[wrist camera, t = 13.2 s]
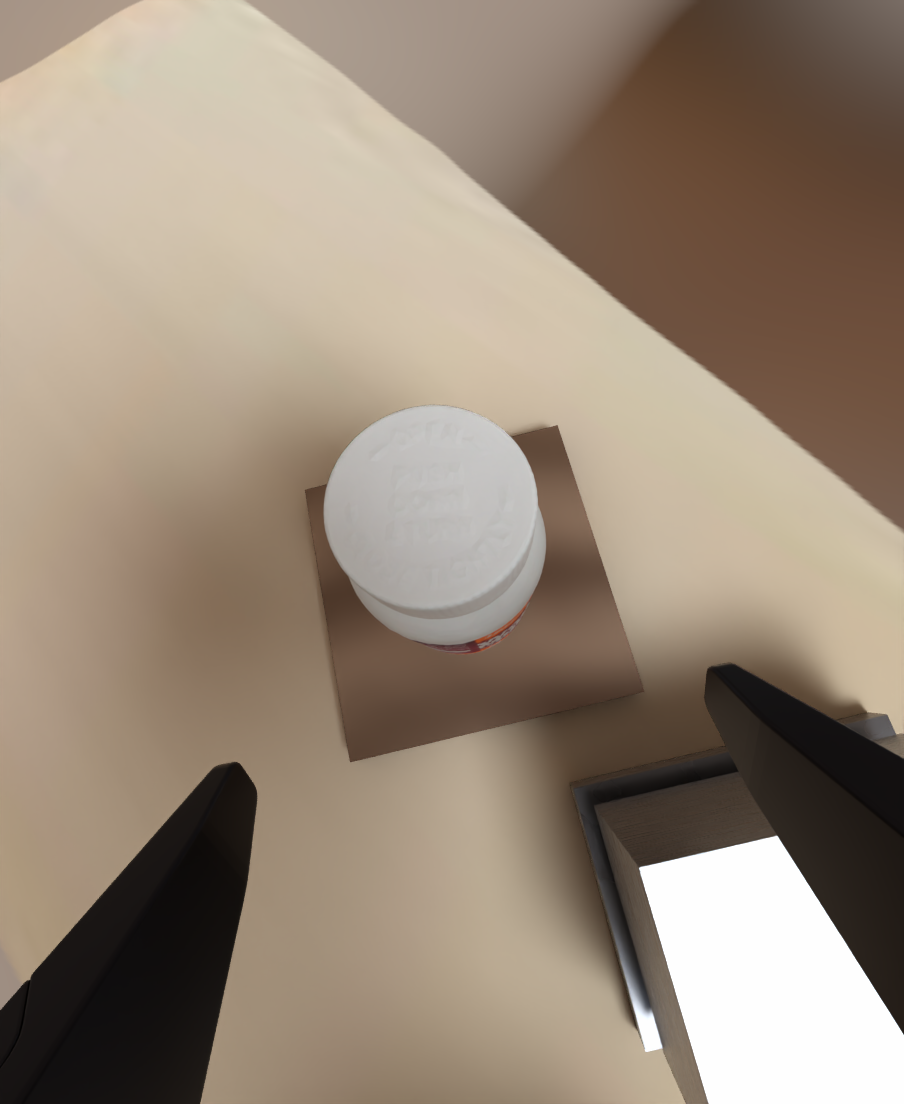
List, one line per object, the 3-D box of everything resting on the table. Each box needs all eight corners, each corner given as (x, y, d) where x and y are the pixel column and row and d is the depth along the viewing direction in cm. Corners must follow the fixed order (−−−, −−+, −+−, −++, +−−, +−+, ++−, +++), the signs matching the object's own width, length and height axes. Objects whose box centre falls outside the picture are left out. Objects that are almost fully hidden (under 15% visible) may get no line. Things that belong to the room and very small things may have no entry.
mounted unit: (977, 960, 18) (1345, 1181, 10) (638, 1034, 18) (744, 1303, 10) (868, 712, 20) (1100, 739, 12) (569, 782, 21) (614, 851, 13)
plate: (637, 690, 21) (644, 691, 20) (356, 758, 22) (349, 762, 21) (554, 435, 24) (557, 425, 24) (312, 497, 25) (305, 490, 24)
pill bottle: (505, 674, 21) (518, 675, 10) (376, 629, 22) (259, 587, 11) (544, 544, 22) (594, 419, 11) (420, 508, 23) (355, 360, 12)
